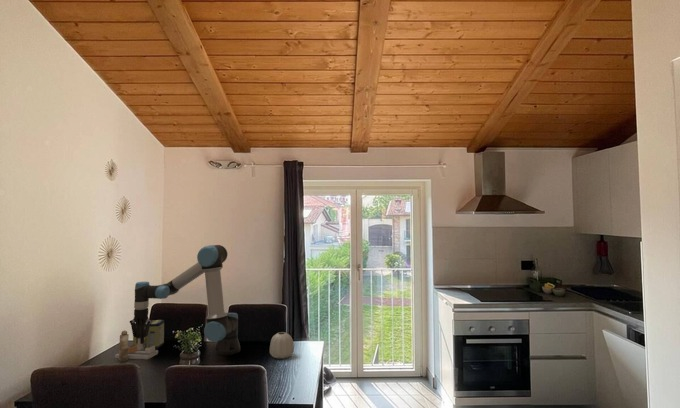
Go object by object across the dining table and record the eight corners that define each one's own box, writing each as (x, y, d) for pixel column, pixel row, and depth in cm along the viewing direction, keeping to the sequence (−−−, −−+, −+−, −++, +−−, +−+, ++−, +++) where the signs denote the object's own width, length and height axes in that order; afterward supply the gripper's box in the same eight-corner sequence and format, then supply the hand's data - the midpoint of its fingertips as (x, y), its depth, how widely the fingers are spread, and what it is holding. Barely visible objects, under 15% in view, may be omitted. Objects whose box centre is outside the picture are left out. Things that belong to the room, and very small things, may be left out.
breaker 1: (137, 350, 229) (137, 344, 229) (132, 353, 224) (132, 346, 224) (132, 350, 229) (132, 343, 229) (127, 353, 224) (127, 346, 224)
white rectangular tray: (158, 353, 230) (158, 349, 230) (148, 359, 220) (148, 354, 220) (126, 352, 232) (126, 348, 232) (115, 358, 222) (115, 353, 222)
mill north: (129, 359, 220) (130, 329, 222) (124, 361, 216) (125, 331, 217) (122, 358, 221) (123, 329, 222) (117, 361, 216) (118, 331, 218)
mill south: (146, 350, 236) (146, 323, 237) (141, 352, 232) (142, 324, 233) (139, 350, 237) (140, 323, 238) (134, 352, 232) (135, 324, 234)
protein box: (138, 345, 249) (139, 320, 250) (164, 344, 250) (164, 319, 251) (132, 349, 238) (132, 324, 239) (158, 348, 240) (159, 323, 241)
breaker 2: (154, 351, 228) (155, 344, 228) (150, 353, 223) (150, 346, 223) (150, 350, 228) (150, 344, 228) (145, 353, 223) (145, 346, 223)
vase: (281, 351, 233) (281, 329, 234) (298, 355, 225) (298, 332, 226) (264, 357, 222) (264, 334, 223) (281, 362, 214) (282, 337, 215)
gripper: (155, 307, 231) (154, 347, 229) (134, 307, 232) (133, 347, 231) (148, 309, 224) (146, 351, 222) (126, 309, 225) (125, 351, 223)
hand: (139, 349), depth 226 cm, fingers closed
